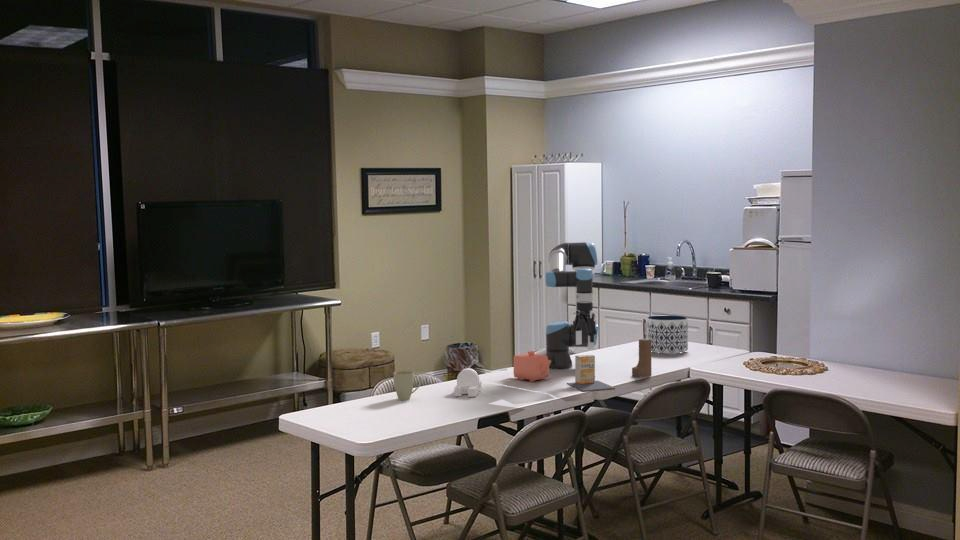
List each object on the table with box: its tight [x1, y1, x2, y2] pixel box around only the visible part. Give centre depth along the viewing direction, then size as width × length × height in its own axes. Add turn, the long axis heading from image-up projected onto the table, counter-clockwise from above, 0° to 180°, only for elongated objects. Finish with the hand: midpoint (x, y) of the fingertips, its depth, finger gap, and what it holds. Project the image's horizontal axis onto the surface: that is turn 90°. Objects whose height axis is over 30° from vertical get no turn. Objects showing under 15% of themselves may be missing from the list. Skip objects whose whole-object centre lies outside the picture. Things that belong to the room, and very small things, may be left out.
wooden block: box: [631, 338, 652, 378], centre depth 423 cm, size 9×4×18 cm, turn 123°
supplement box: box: [574, 353, 596, 384], centre depth 406 cm, size 8×5×13 cm, turn 115°
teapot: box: [513, 350, 551, 383], centre depth 417 cm, size 22×13×14 cm, turn 47°
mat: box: [566, 380, 616, 393], centre depth 401 cm, size 18×16×1 cm
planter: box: [646, 314, 689, 354], centre depth 489 cm, size 22×22×20 cm
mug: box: [393, 370, 423, 401], centre depth 380 cm, size 11×10×12 cm
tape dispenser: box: [453, 367, 483, 398], centre depth 393 cm, size 10×18×11 cm, turn 170°
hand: (584, 346), depth 406 cm, fingers open, 13 cm apart
